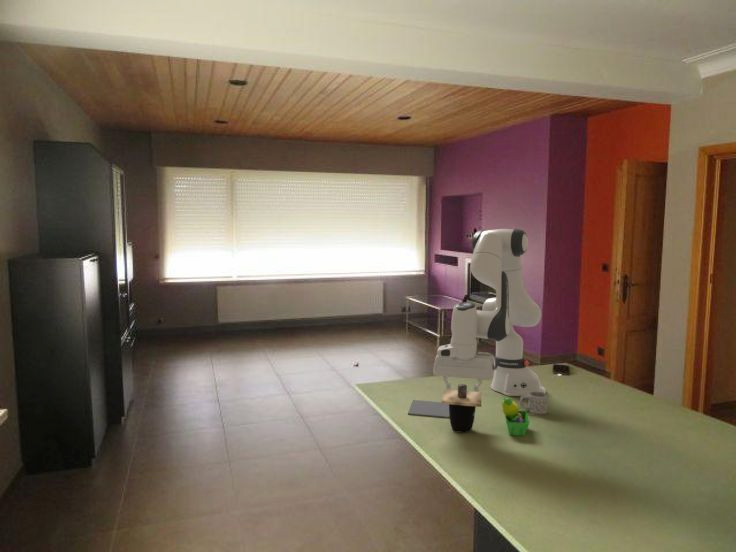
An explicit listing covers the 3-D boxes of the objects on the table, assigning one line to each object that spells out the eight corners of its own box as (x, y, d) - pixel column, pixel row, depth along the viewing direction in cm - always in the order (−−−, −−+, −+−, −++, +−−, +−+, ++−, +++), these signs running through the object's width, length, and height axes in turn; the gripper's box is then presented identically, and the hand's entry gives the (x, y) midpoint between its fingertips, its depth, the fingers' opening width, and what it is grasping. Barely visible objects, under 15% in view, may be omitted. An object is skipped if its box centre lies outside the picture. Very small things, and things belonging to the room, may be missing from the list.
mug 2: (544, 408, 201) (545, 391, 200) (548, 415, 195) (549, 397, 194) (517, 407, 202) (518, 390, 201) (520, 413, 196) (521, 396, 195)
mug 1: (476, 434, 175) (477, 405, 174) (449, 433, 176) (450, 404, 174) (470, 421, 187) (472, 393, 186) (445, 420, 187) (446, 392, 186)
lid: (481, 394, 185) (481, 381, 185) (481, 406, 173) (481, 392, 172) (444, 391, 188) (444, 378, 188) (441, 403, 175) (442, 389, 175)
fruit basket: (529, 438, 173) (530, 405, 172) (501, 435, 175) (503, 402, 174) (526, 425, 184) (527, 394, 183) (500, 423, 186) (501, 392, 185)
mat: (451, 404, 204) (451, 403, 204) (449, 418, 190) (449, 416, 190) (413, 401, 207) (413, 399, 207) (407, 414, 193) (407, 413, 193)
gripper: (494, 350, 180) (492, 389, 181) (434, 346, 184) (433, 384, 185) (495, 354, 173) (493, 395, 175) (433, 350, 178) (432, 390, 179)
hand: (462, 389), depth 180 cm, fingers open, 8 cm apart
